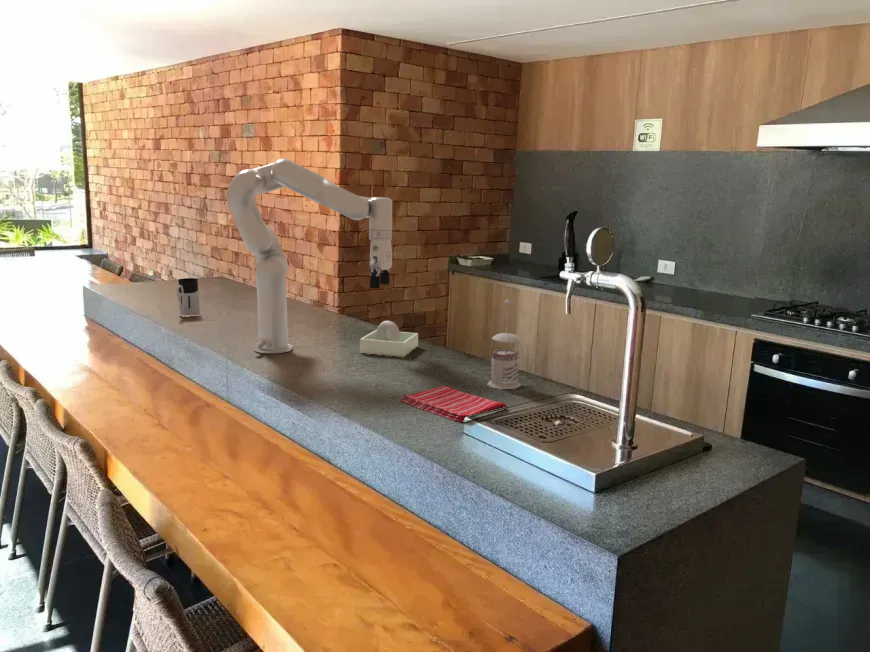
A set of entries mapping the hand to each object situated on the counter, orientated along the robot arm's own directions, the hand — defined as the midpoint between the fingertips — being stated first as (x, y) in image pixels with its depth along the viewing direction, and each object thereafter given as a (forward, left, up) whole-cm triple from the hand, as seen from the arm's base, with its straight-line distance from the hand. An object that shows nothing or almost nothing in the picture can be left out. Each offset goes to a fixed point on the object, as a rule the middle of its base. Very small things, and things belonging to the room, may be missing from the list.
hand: (379, 286), depth 239 cm
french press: (-27, -49, -22) cm, 60 cm away
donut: (-1, -4, -22) cm, 22 cm away
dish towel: (-51, -39, -23) cm, 68 cm away
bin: (0, -4, -22) cm, 22 cm away
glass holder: (+26, +93, -22) cm, 99 cm away
